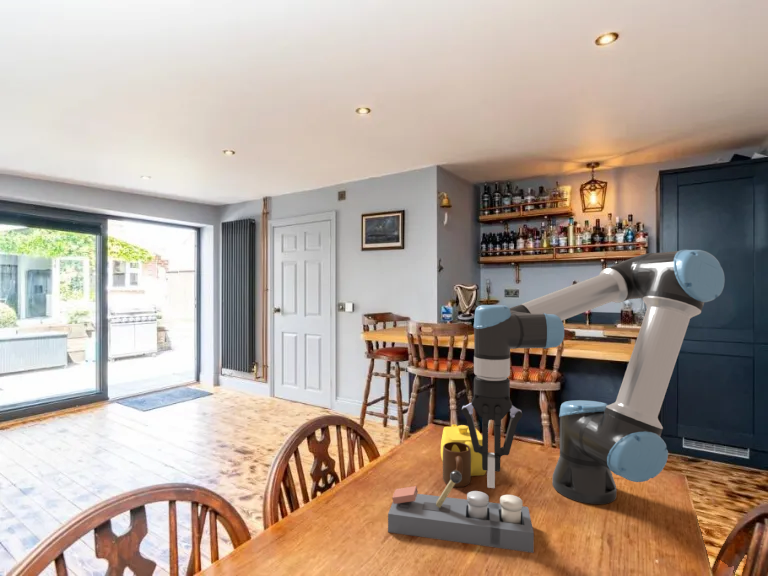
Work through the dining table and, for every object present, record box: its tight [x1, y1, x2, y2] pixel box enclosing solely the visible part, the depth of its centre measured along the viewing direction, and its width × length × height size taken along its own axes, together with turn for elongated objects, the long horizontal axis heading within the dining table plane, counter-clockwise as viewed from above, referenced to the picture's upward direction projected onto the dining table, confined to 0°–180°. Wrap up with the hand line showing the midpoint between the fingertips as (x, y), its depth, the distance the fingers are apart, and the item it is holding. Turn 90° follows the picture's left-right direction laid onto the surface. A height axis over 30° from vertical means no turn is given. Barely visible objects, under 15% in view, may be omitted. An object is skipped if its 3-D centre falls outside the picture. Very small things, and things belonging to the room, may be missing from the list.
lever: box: [436, 470, 462, 508], centre depth 92 cm, size 3×3×9 cm
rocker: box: [392, 485, 419, 504], centre depth 94 cm, size 5×4×1 cm
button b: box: [466, 490, 490, 520], centre depth 90 cm, size 5×5×5 cm
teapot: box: [440, 424, 487, 477], centre depth 123 cm, size 20×12×12 cm, turn 3°
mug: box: [442, 442, 472, 488], centre depth 111 cm, size 12×8×9 cm, turn 176°
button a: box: [499, 494, 524, 524], centre depth 89 cm, size 5×5×5 cm
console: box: [387, 493, 535, 554], centre depth 91 cm, size 30×10×5 cm, turn 77°
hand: (490, 484), depth 90 cm, fingers closed
